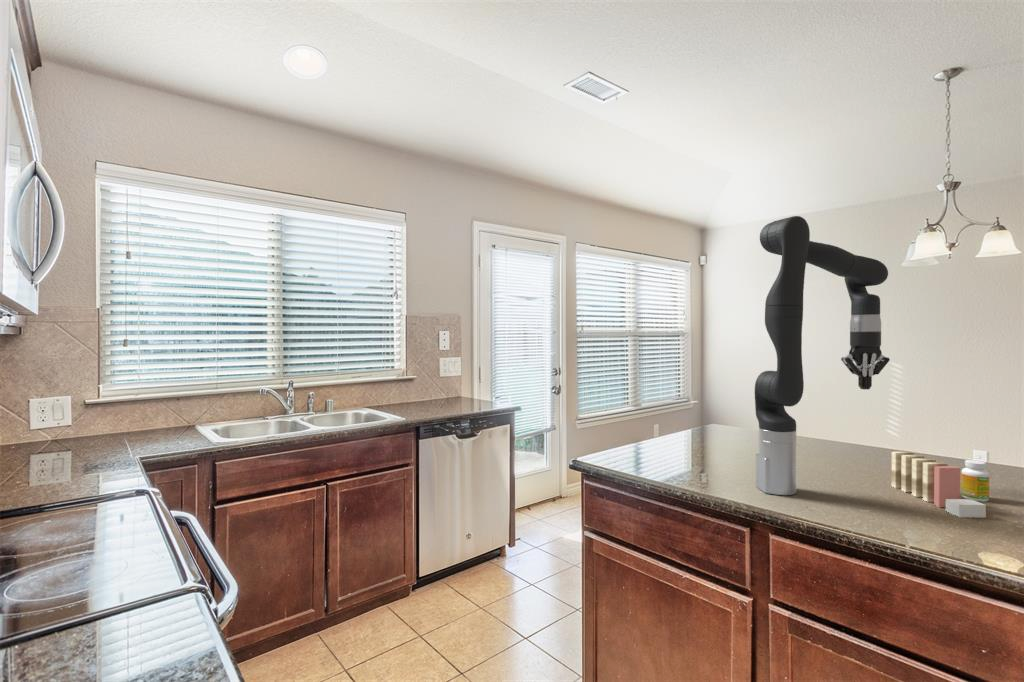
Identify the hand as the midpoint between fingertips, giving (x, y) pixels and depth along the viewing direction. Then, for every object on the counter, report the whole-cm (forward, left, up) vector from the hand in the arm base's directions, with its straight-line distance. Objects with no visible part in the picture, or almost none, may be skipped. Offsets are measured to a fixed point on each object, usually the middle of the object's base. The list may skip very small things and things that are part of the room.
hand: (865, 389), depth 148 cm
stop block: (+6, -28, -27) cm, 39 cm away
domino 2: (+6, -11, -27) cm, 30 cm away
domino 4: (+6, -18, -27) cm, 33 cm away
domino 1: (+6, -7, -27) cm, 29 cm away
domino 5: (+6, -22, -27) cm, 35 cm away
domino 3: (+6, -15, -27) cm, 31 cm away
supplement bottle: (+18, -16, -27) cm, 36 cm away
